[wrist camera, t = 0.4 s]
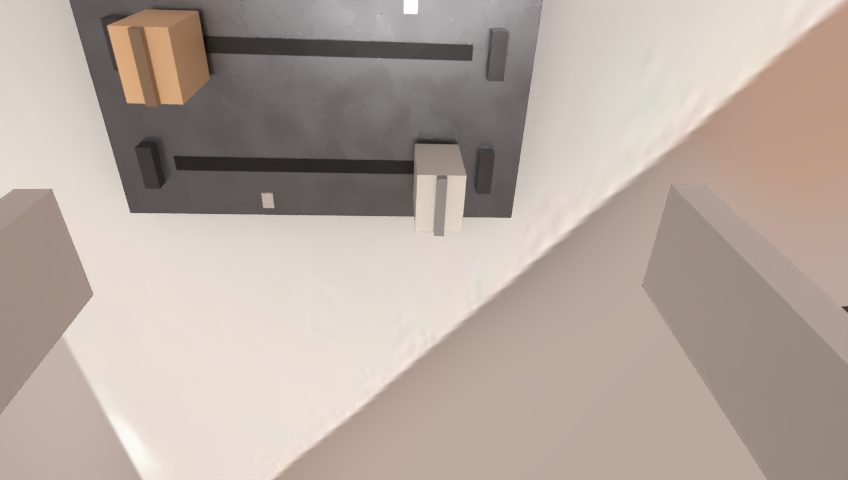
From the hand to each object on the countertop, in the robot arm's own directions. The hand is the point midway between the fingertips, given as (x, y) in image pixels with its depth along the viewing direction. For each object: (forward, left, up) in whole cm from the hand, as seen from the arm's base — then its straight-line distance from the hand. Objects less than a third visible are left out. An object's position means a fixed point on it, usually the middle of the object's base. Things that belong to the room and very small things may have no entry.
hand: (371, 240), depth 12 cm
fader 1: (+1, -13, -24) cm, 27 cm away
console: (+5, -5, -27) cm, 28 cm away
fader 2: (+9, +3, -24) cm, 26 cm away
